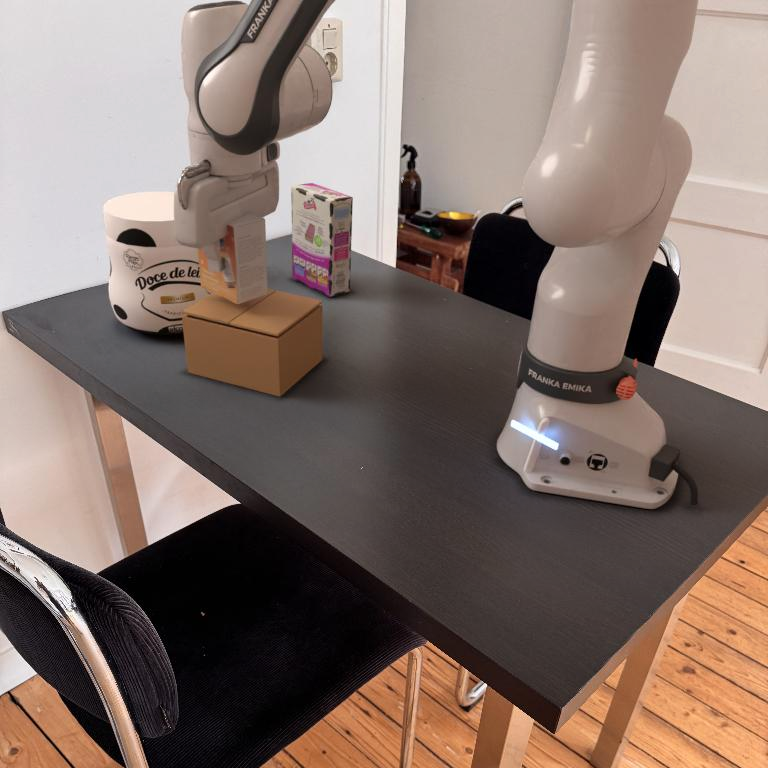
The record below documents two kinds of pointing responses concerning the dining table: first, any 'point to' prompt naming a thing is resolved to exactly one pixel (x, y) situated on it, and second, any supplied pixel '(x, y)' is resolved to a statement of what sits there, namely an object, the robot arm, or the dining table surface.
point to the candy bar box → (321, 238)
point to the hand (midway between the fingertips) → (232, 261)
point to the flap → (276, 313)
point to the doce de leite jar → (149, 264)
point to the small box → (239, 262)
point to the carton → (249, 346)
